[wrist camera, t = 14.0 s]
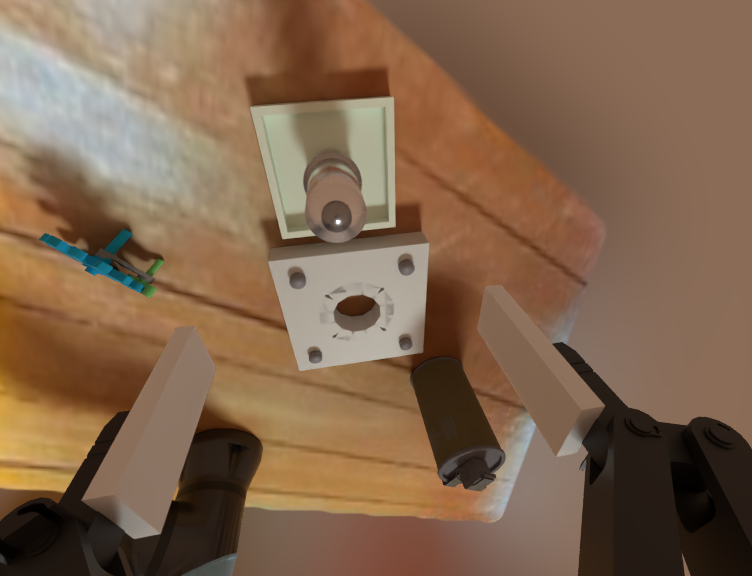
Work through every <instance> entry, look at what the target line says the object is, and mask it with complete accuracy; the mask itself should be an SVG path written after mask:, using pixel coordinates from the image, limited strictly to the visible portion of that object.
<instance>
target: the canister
mask: <svg viewBox="0 0 752 576" xmlns="http://www.w3.org/2000/svg"><path fill="white" fill-rule="evenodd" d="M411 384H412V386H413V388H414V390H415V394H416V397H417V401H418V404H419V407H420V411H421V414H422V417H423V421H424V424H425V427H426V431H427V434H428V438H429V441H430V444H431V448H432V451H433V454H434V458H435V461H436V464H437V468H438V476H439V478H440V479H441V480H442V482H443V485H445V486H450V487H455V486H457V485H458V484H461V483H462V484H463V486H464V488H465V489H469V490H475V491H482V490H483V489H485V488H486V486H487V485H489V484H490V483H491V482H493V481H494V479H493V478H496V475H495V474H492V473H494V472H495V471H497V470H498V469H499V468H500V467H501V466H502V465H503V464H504V461H505V453H504V451H503V450H502V449H501V447H500V445H499V443H498V441H497V439H496V437H495V435H494V433H493V431H492V429H491V427H490V425H489V422H488V420H487V418H486V416H485V414H484V412H483V410H482V408H481V406H480V404H479V402H478V400H477V397H476V395H475V393H474V391H473V389H472V387H471V385H470V383H469V381H468V379H467V377H466V375H465V372H464V370H463V366H462V364H461V363H460V362H459V361H458V360H456V359H454V358H451V357H437V358H433V359H429V360H427V361H426V362H424V363H422V364H421V365H419V366H418V367H417V368H416V369H415V370H414V372H413V373H412V376H411Z"/></svg>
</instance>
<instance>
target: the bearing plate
mask: <svg viewBox="0 0 752 576" xmlns="http://www.w3.org/2000/svg"><path fill="white" fill-rule="evenodd" d="M428 254H429V242H428V240H427V239H426V237H425V236H424V234H423V233H422V231H421V232H412V233H403V234H394V235H385V236H376V237H367V238H358V239H351V240H348V241H345V242H340V243H332V242H322V243H313V244H304V245H295V246H286V247H277V248H272V249H271V252H270V256H269V260H268V263H269V266H270V270H271V273H272V277H273V280H274V284H275V287H276V291H277V294H278V298H279V301H280V305H281V308H282V312H283V315H284V319H285V322H286V326H287V329H288V333H289V336H290V339H291V343H292V346H293V350H294V353H295V357H296V360H297V364H298V367H299V371H303V370H309V369H316V368H323V367H330V366H336V365H343V364H350V363H357V362H363V361H370V360H377V359H384V358H390V357H397V356H404V355H410V354H417V353H423V345H424V327H425V308H426V290H427V272H428ZM354 295H365V296H368V297H371V298H373V299H374V300H375V301H376V303H375V305H374V306H373V308H372V310H370V311H368V312H367V313H365V314H363V315H360V316H352V317H351V316H347V315H344V314H341V313H340V312H339V311H338V310H337V309H336V306H337V304H338V303H339V302H340V301H342V300H344V299H345V298H347V297H348V296H354Z"/></svg>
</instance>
